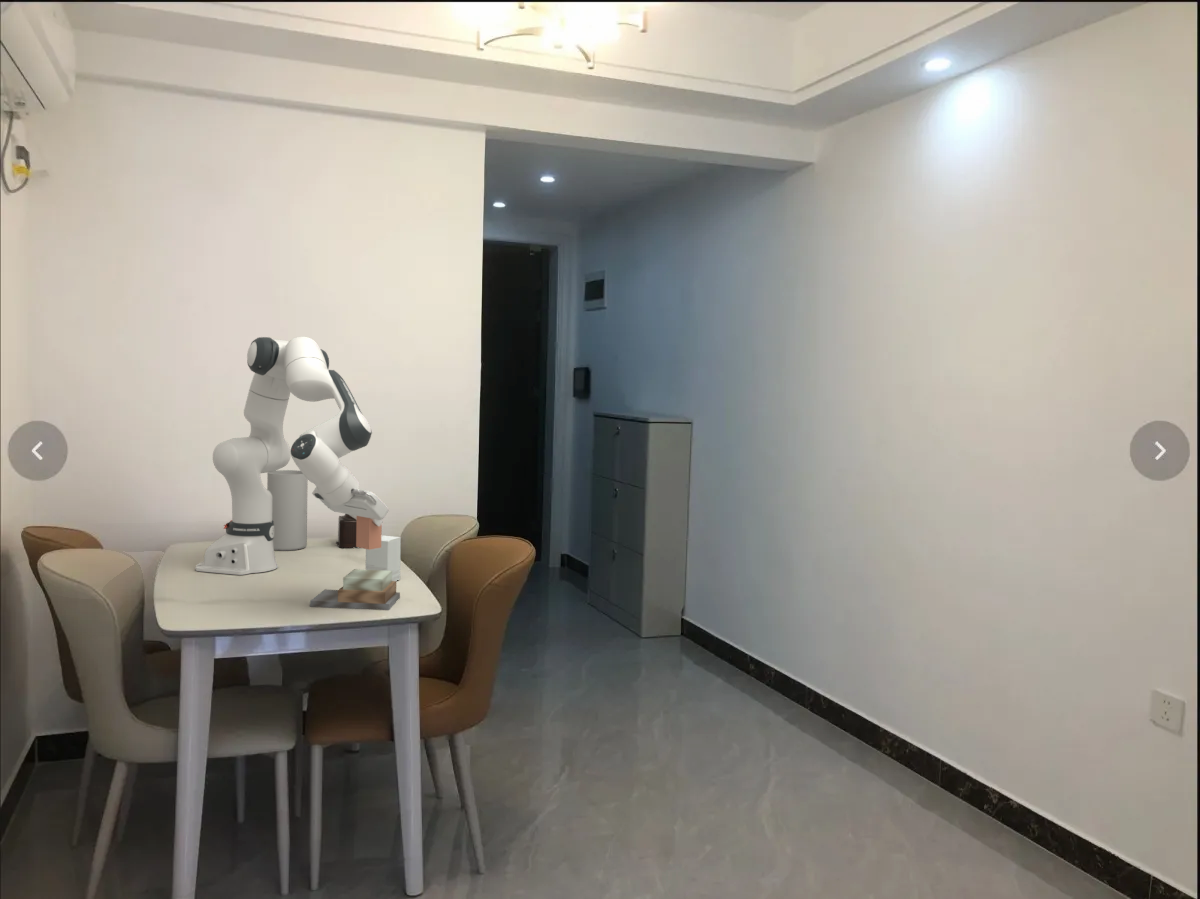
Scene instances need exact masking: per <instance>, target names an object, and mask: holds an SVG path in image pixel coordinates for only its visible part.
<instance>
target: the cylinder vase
mask: <svg viewBox="0 0 1200 899" xmlns="http://www.w3.org/2000/svg"><path fill="white" fill-rule="evenodd" d="M266 475H267V476H266V477H267V483H266V484H267V485H266V487H267V488H266V489H267V490H268V491H270V493H271V494H272V520H273V521H274V539H273V547H274V551H279V552H280V551H281V552H282V551H283V552H284V551H285V552H286V551H287V552H289V551H290V550H291V551H298V549H299V550H302V549H305V548H306V547H307V545H308V484H309V483H308V482H309V480H308V479H307V478H306V477H305V476H304V474H303V473H302V472H301V471H300V470H295V469H294V470H293V469H292V470H291V469H290V470H289V469H287V470H285V469H278V470H276V471H273V472H267V474H266Z"/></svg>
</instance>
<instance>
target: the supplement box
mask: <svg viewBox="0 0 1200 899" xmlns="http://www.w3.org/2000/svg"><path fill="white" fill-rule="evenodd" d="M401 538H402V537H400V536H392V535H383V534H382V535H381V548H376V549H370V550H368V549H365V570H384V571H392V581H396V582H398V581H397V580H399V579H400V580H401V552H402V551H401V545H402V544H401V542H402V541H401V540H402V539H401ZM400 580H399V581H400Z"/></svg>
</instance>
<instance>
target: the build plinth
mask: <svg viewBox="0 0 1200 899" xmlns="http://www.w3.org/2000/svg"><path fill="white" fill-rule="evenodd" d="M398 599H399V600H400V599H401V592H398V591H397V581H392V571H384V570H366V569H360V568H359V569H357V568H356V569H353V570H352V571H350V572H349V573H348V574H346V575H345V576H343V578H342V586H341V587H340V588H339V589H327V588H325V589H324V590H322V591H321V592H320V593H318V594H317V595H316V596H315V597H313V598H312V599H310V600H309V607H311V608H312V607H313V608H314V607H315V608H332V609H333V608H335V609H336V608H337V609H338V608H339V609H355V610H356V609H357V610H358V609H361V610H383V611H384V610H385V611H389V610H391V608H393V606H394V605H395V604H396V603H397V602H398V601H399V600H398ZM397 600H398V601H397ZM396 601H397V602H396Z"/></svg>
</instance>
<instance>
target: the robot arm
mask: <svg viewBox="0 0 1200 899" xmlns="http://www.w3.org/2000/svg"><path fill="white" fill-rule="evenodd" d="M246 358H247V366H248V368H249V370H250V371H251V372H253V373H254V374H253V377H252V380H251V383H250V385H249V389H248V394H247V397H246V401H245V405H244V409H243V416H244V418H245V419H246V421H248V423H249V424H250V433H249V436H248V437H247V436H245V437H235V438H230V439H227V440H225V441H222V442H219V443H218V444H217V445H216V446H215V447H214V449H213V453H212V462H213V463H212V464H213V466H214V468H215V469H216V471H217V472H219V474H221V475H222V476H223V477H224V479H225V480H226V483H227V485H228V487H229V490H230V495H231V517H232V518H231V520H230V521H229V522H227V523H225V524H224V525H223V530H225V534H223V535H222V536H221V537H219V538H218V539H216V540H215V541H214V542H212V543H211V544H210V545H209V546H208V547H207V548H206V550H205V553H204V556H203V560H202V561H201V562H199V563H197V564H196V565H195V569H194V570H195V571H196V572H203V573H213V574H214V573H215V574H216V573H217V574H226V575H237V576H242V575H243V576H244V575H249V574H254V573H255V574H257V573H265V572H269V571H273V570H276V569H278V568H279V567H278V562H277V559H276V555H275V550H274V547H273V539H274V521H273V520H272V494H271V493H270V491H268V490H267V488H265V485H264V484H263V481H262V478H261V474H265V473H267V472H273V471H278V470H281V469H282V468H284V467H286V466H287V465H288V464H289V462H290V459H291V458H292V460H293V463H295V465H296V467H297V468H298V469H299V471H301V472H302V473H303V474H304V476H305V477H306V478H307V479H308V482H310V483H312V484H314V486H315V488H314V490H313V491H312V493H311V494H312V495H313V496H314V497H315V498H316V499H318V500H320V502H321V503H323V505H324V506H326V507H327V508H328V509H329V510H331V511H332V512H335V513H340V514H344V515H345V514H348V515H350V516H351V517H353V518H355V519H356V520H357V516H361V517H366V518H370V519H372V520H373V521H372V523H373V524H374V525H375V526H380V525H381V524H383V520H384V518H386V516H387V514H388V512H390V511H389V509H390V508H389V507H388V506H387V505H386V503H385V502H384V501H382V499H380V497H379V496H378V495H377V494H375V493H374V492H372V491H371V490H366V489H365V490H363V489H359V488H360V481H359V479H357V478H356V477H355V475H354V474H353V473H352V472H351V470H350V469H349V468H348V467H347V466H345V465H344V464H342V463H341V460H340V458H342V457H344V456H346V455H348V454H350V453H351V452H355V451H357V450H360V449H362V448H365V447H367V446H368V445H369V443H370V440H371V438H372V434H373V432H372V428H371V425H370V423H369V421H368V419H367V418H366V417H365V416H364V414H363V412H362V410H361V409H360V407H359V405H358V403H357V401H356V399H355V397H354V396H353V393H352V392H351V389H350V388H349V385H348V384H347V383H346V381H345V379H344V378H343V376H341V375H340V374H339V372H337V371H336V370H335V369H329V368H330V360H329V359H330V358H329V356H328V354H327V351H326V350H323V349H322V348H321V347H320V346H319V344H318V342H317V341H315V340H314V339H313V338H311V337H308V336H296V337H293V338H292V339H290V340H286V339H278V338H277V339H276V338H272V337H269V336H268V337H266V336H261V337H257V338H255V339H253V340H252V341H251V343H250V345H249V347H248V350H247V355H246ZM291 394H292V395H293V396H294V397H295V398H297V399H299V400H302V401H304V402H313V403H314V402H320V401H324V400H330V399H332V400H333V399H334V400H335V403H336V405H337V406H338V409H339V412H337V414H336V415H335V416H333V417H332V418H329V419H328V420H325V421H324V422H322V423H320V424H318V425H316V426H314V427H312V428H310V429H308V430H306V431H305V432H303V433H302V434H300V435H299V437H298V438H297V439H295V441H294V442H293V443H292V445H291V447H290V445H289V443H288V442H287V440H286V438H285V436H284V420H285V415H286V411H287V407H288V403H289V400H290V395H291Z"/></svg>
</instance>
